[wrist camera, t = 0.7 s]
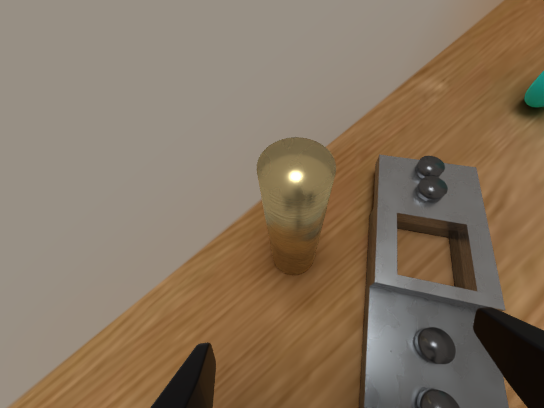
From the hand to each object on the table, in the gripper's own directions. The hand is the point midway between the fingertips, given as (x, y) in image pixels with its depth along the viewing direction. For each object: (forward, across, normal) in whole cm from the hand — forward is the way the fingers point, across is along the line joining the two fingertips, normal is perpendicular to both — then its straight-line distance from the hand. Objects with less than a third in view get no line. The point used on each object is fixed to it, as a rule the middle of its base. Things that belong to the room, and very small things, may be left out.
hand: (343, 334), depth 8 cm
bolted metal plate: (+13, -11, +9) cm, 19 cm away
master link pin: (+16, 0, +6) cm, 17 cm away
